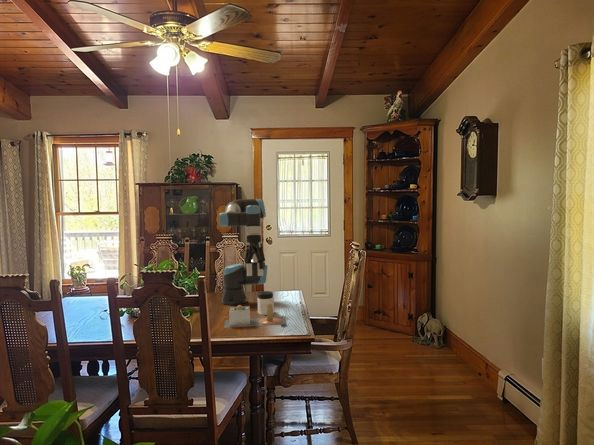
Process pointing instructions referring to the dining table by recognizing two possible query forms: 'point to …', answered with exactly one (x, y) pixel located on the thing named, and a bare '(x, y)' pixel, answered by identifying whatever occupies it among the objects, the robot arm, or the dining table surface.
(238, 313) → the collar
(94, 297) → the dining table surface
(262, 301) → the jar
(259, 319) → the post board
